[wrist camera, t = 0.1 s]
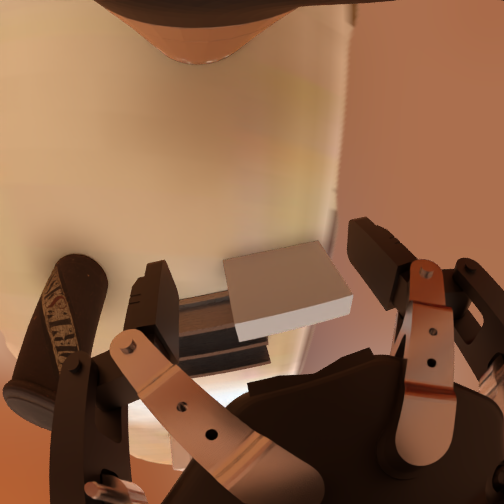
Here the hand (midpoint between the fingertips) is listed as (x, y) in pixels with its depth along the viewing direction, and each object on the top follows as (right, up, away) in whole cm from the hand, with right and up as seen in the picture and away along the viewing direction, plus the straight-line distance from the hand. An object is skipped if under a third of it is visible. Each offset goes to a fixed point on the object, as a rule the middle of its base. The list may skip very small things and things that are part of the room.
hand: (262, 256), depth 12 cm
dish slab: (+2, -1, +23) cm, 23 cm away
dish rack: (-6, -11, +28) cm, 31 cm away
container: (-23, -3, +19) cm, 30 cm away
